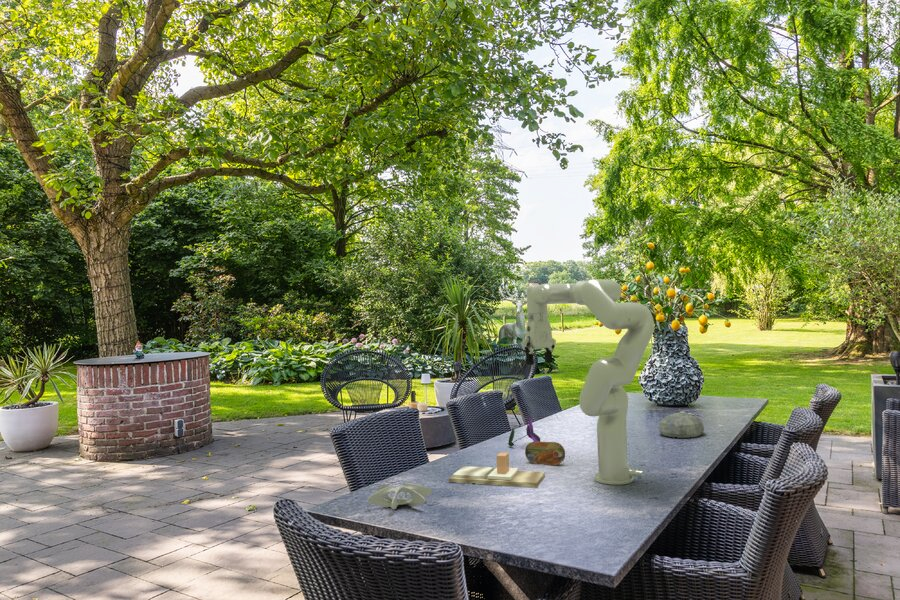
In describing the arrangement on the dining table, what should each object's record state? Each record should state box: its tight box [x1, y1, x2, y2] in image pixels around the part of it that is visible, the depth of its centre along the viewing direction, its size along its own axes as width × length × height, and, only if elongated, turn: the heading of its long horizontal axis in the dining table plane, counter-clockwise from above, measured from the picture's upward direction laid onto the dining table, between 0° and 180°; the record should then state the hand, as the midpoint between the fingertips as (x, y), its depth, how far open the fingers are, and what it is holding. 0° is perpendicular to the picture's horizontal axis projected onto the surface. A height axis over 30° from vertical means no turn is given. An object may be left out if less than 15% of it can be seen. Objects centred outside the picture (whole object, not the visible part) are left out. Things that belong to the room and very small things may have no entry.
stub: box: [488, 452, 520, 480], centre depth 212 cm, size 8×12×7 cm, turn 161°
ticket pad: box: [448, 465, 546, 489], centre depth 212 cm, size 30×14×3 cm, turn 71°
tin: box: [524, 440, 566, 466], centre depth 232 cm, size 15×3×8 cm, turn 62°
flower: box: [507, 411, 541, 447], centre depth 262 cm, size 15×15×14 cm
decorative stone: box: [658, 411, 705, 439], centre depth 275 cm, size 18×21×10 cm
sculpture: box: [367, 481, 433, 510], centre depth 187 cm, size 18×20×6 cm
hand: (539, 363), depth 233 cm, fingers open, 9 cm apart
